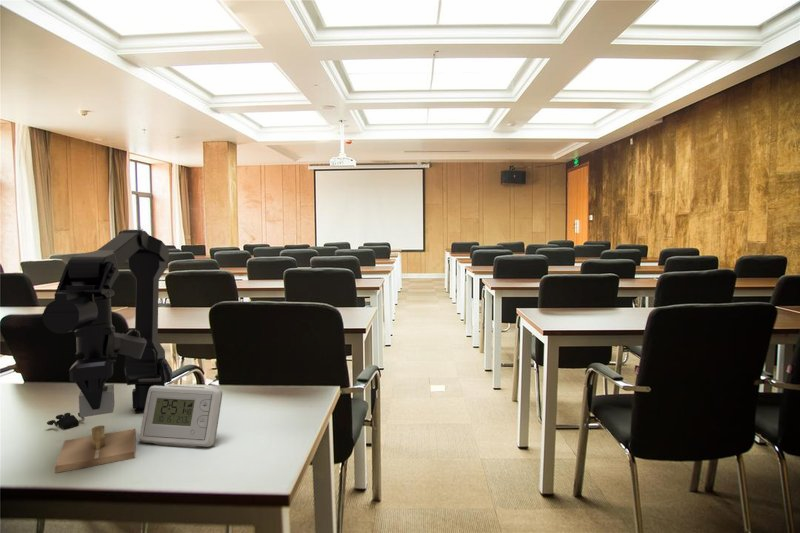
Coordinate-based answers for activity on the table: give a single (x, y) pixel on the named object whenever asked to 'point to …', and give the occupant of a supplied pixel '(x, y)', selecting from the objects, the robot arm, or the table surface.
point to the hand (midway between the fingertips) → (97, 404)
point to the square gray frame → (105, 405)
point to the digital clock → (181, 416)
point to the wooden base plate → (96, 449)
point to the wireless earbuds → (65, 421)
